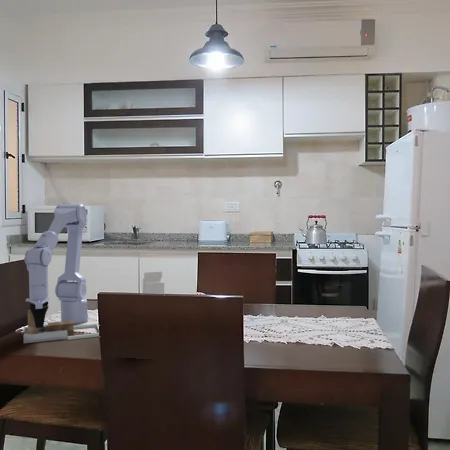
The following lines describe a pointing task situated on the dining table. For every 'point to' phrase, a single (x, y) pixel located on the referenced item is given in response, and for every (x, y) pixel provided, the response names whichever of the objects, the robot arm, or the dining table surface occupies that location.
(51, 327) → the walnut block
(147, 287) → the milk
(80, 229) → the robot arm
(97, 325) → the tray
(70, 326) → the walnut block
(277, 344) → the dining table surface
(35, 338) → the silver metal tray
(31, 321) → the tan block
